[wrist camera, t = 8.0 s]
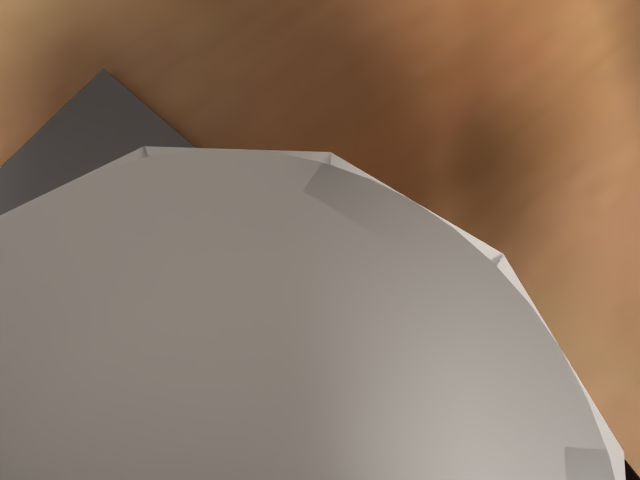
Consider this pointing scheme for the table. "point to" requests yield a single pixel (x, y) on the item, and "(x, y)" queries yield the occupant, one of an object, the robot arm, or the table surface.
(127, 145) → the mat
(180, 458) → the cover cup
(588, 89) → the table surface
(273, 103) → the table surface
